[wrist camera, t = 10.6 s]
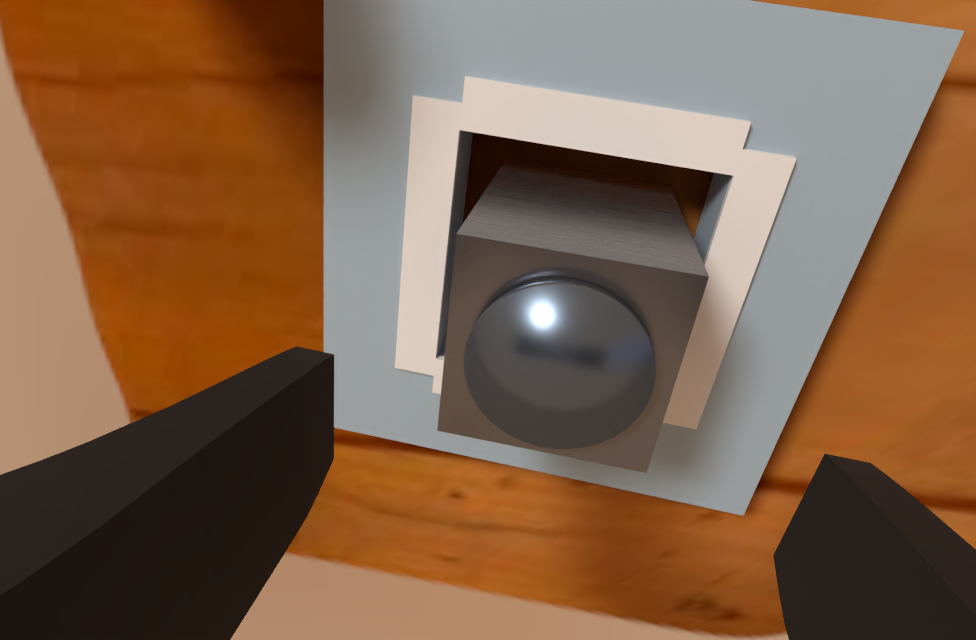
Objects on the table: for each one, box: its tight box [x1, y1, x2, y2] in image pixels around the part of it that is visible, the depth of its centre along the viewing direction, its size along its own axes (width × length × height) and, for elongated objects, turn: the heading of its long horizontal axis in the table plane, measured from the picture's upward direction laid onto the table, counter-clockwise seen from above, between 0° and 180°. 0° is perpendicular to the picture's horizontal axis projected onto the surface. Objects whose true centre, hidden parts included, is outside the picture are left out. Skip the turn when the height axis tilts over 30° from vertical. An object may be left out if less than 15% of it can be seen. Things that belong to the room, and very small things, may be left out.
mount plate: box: [324, 0, 964, 515], centre depth 16 cm, size 14×14×2 cm
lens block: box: [437, 159, 709, 473], centre depth 14 cm, size 4×4×7 cm
